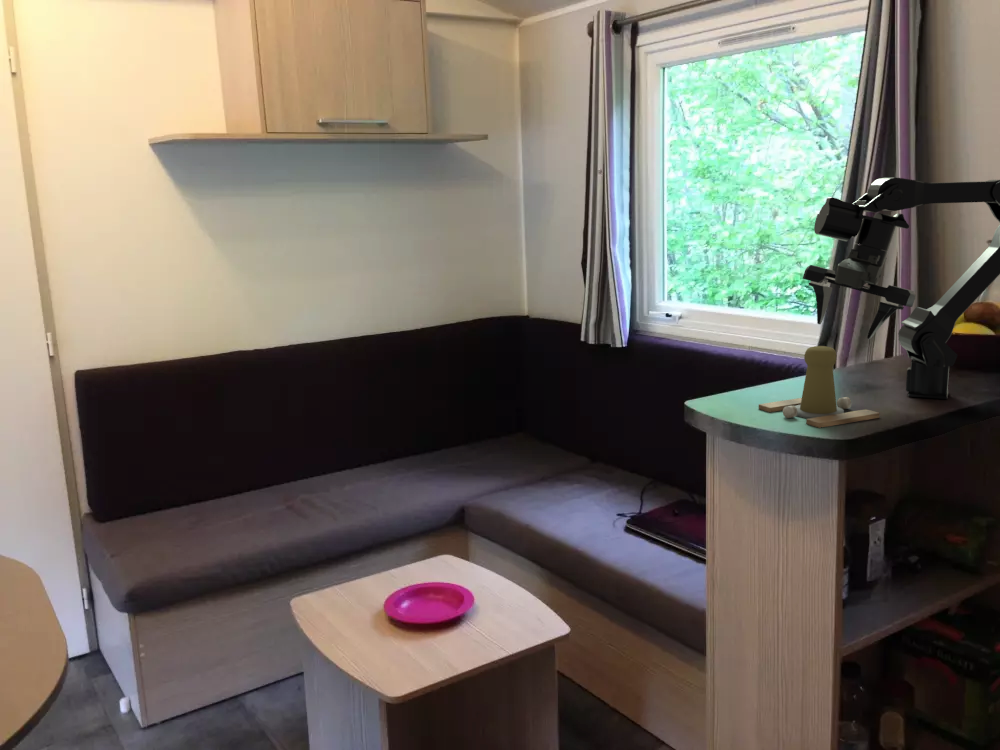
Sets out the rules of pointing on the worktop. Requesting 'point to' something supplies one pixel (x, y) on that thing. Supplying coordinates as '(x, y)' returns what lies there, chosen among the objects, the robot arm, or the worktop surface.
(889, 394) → the worktop surface
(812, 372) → the cork
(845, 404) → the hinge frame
